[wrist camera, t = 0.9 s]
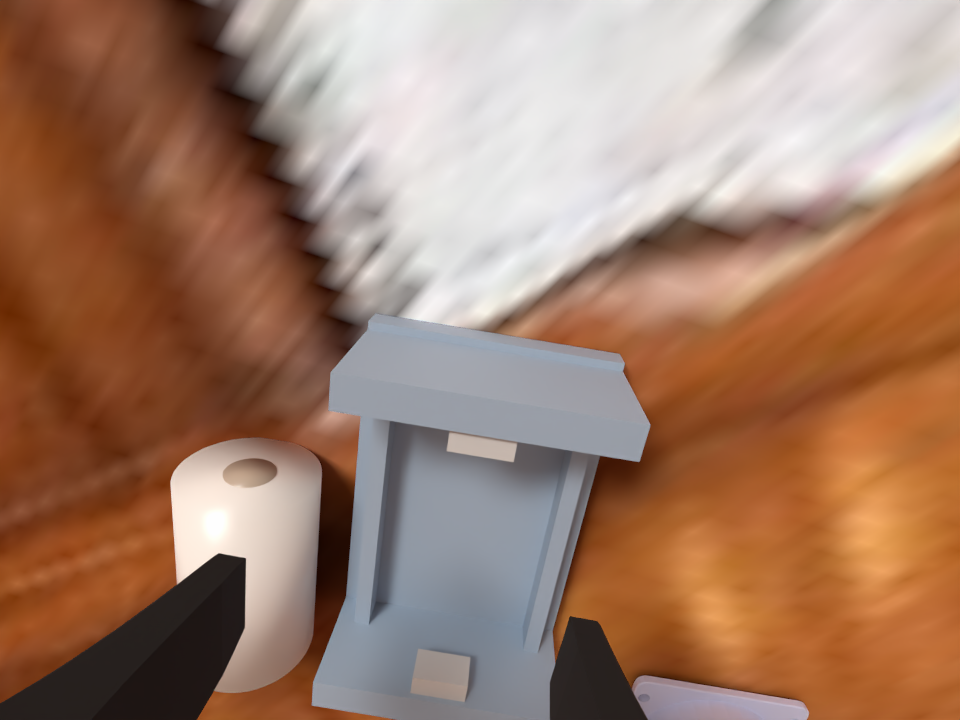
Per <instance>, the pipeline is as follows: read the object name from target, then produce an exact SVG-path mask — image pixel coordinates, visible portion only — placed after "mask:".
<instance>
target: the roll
mask: <svg viewBox="0 0 960 720" xmlns="http://www.w3.org/2000/svg"><path fill="white" fill-rule="evenodd" d="M321 482H322V467H321V464H320V462H319V460H318V458H317V457H316V456H315V455H314V454H313V453H312V452H311V451H309V450H308V449H306V448H304V447H302V446H300V445H298V444H295V443H291V442H285V441H279V440H273V439H267V438H243V439H235V440H230V441H225V442H221V443H218V444H214V445H211V446H209V447H206V448H204V449H202V450H200V451H198V452H196V453H194V454H192V455H191V456H189V457H188V458H186V459H185V460H184V461H183V462H182V463H181V464H180V465H179V466H178V467H177V468H176V470H175V471H174V473H173V475H172V478H171V498H172V513H173V528H174V543H175V558H176V573H177V584H178V583H180V582H181V581H182V580H184V579H185V578H186V577H187V576H189V575H190V574H191V573H193V572H194V571H195V570H197V569H198V568H199V567H200V566H202V565H203V564H204V563H206V562H207V561H208V560H210V559H211V558H212V557H214V556H215V555H217V554H218V553H221V554H226V555H232V556H237V557H243V558H246V594H245V629H244V631H243V633H242V635H241V638H240V640H239V642H238V644H237V646H236V649H235V651H234V653H233V655H232V657H231V659H230V661H229V663H228V666H227V668H226V670H225V672H224V674H223V676H222V678H221V679H220V681H219V683H218V685H217V686H216V688H215V690H214V691H217V692H224V693H239V692H247V691H251V690H255V689H258V688H261V687H264V686H267V685H269V684H271V683H273V682H275V681H277V680H278V679H280V678H282V677H283V676H285V675H286V674H287V673H289V672H290V671H291V670H292V669H293V668H294V667H295V666H296V665H297V664H298V663H299V662H300V661H301V660H302V658H303V657H304V655H305V654H306V652H307V650H308V648H309V646H310V644H311V641H312V637H313V629H314V611H315V593H316V574H317V556H318V537H319V519H320V500H321Z"/></svg>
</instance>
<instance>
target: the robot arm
mask: <svg viewBox="0 0 960 720" xmlns="http://www.w3.org/2000/svg"><path fill="white" fill-rule="evenodd" d="M245 594H246V558H243V557H237V556H232V555H226V554H221V553H218V554H217V555H215V556H214V557H212V558H211V559H210V560H208V561H207V562H206V563H204V564H203V565H202V566H200V567H199V568H198V569H197V570H195V571H194V572H193V573H191V574H190V575H189V576H187V577H186V578H185V579H184V580H182V581H181V582H180V583H178V584H177V585H176V586H174V587H173V588H172V589H170V590H169V591H168V592H167V593H165V594H164V595H163V596H161V597H160V598H159V599H157V600H156V601H155V602H153V603H152V604H150V605H149V606H148V607H146V608H145V609H144V610H142V611H141V612H140V613H138V614H137V615H135V616H134V617H133V618H131V619H130V620H129V621H127V622H126V623H124V624H123V625H122V626H120V627H119V628H117V629H116V630H115V631H113V632H112V633H110V634H109V635H107V636H106V637H104V638H103V639H101V640H100V641H98V642H97V643H96V644H94V645H93V646H91V647H90V648H88V649H87V650H85V651H84V652H82V653H81V654H79V655H78V656H76V657H75V658H73V659H72V660H70V661H69V662H67V663H66V664H64V665H63V666H61V667H59V668H58V669H56V670H55V671H53V672H52V673H50V674H48V675H47V676H45V677H44V678H42V679H40V680H39V681H37V682H36V683H34V684H32V685H31V686H29V687H27V688H26V689H24V690H22V691H20V692H19V693H17V694H15V695H14V696H12V697H10V698H9V699H7V700H5V701H4V702H2V703H0V720H197V718H198V717H199V715H200V713H201V712H202V710H203V708H204V706H205V705H206V703H207V701H208V700H209V698H210V696H211V695H212V693H213V691H214V690H215V688H216V686H217V685H218V683H219V681H220V679H221V678H222V676H223V674H224V672H225V670H226V668H227V666H228V663H229V661H230V659H231V657H232V655H233V653H234V651H235V649H236V646H237V644H238V642H239V640H240V638H241V635H242V633H243V631H244V629H245ZM808 716H809V712H808V709H807V708H806V706H805V704H804V703H803V702H801V701H798V700H792V699H786V698H780V697H774V696H768V695H762V694H756V693H750V692H744V691H738V690H732V689H726V688H720V687H714V686H708V685H701V684H695V683H689V682H683V681H677V680H671V679H665V678H659V677H653V676H647V675H643V676H640V677H638V678H637V679H636V680H635V681H634V684H633V687H632V689H631V687H630V685H629V683H628V681H627V679H626V677H625V675H624V673H623V671H622V669H621V667H620V665H619V663H618V661H617V659H616V657H615V655H614V653H613V651H612V649H611V647H610V645H609V643H608V641H607V638H606V636H605V634H604V632H603V630H602V628H601V626H600V624H599V623H598V621H593V620H587V619H582V618H576V617H571V616H570V618H569V621H568V625H567V628H566V631H565V634H564V638H563V641H562V644H561V647H560V651H559V654H558V657H557V660H556V664H555V667H554V670H553V673H552V677H551V680H550V720H807V718H808Z"/></svg>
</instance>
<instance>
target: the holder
mask: <svg viewBox="0 0 960 720" xmlns="http://www.w3.org/2000/svg"><path fill="white" fill-rule="evenodd" d="M624 366H625V363H624V361H623V359H622V357H621V356H620V354H617V353H611V352H605V351H599V350H593V349H587V348H581V347H575V346H569V345H563V344H556V343H550V342H544V341H538V340H532V339H526V338H520V337H514V336H508V335H502V334H496V333H490V332H484V331H478V330H472V329H466V328H460V327H454V326H447V325H441V324H435V323H429V322H423V321H417V320H411V319H405V318H399V317H393V316H387V315H381V314H375V315H374V316H373V317H372V318H371V319H370V320H369V321H368V330H367V331H366V332H365V333H364V334H363V336H362V337H361V338H360V339H359V340H358V341H357V343H356V344H355V345H354V346H353V347H352V348H351V349H350V351H349V352H348V353H347V354H346V355H345V356H344V358H343V359H342V360H341V361H340V362H339V363H338V364H337V366H336V367H335V368H334V369H333V370H332V371H331V376H330V394H329V411H334V412H340V413H346V414H352V415H358V416H361V419H360V432H359V444H358V456H357V469H356V481H355V493H354V506H353V518H352V530H351V543H350V555H349V567H348V580H347V592H346V598H345V601H344V604H343V606H342V609H341V611H340V614H339V617H338V619H337V622H336V624H335V627H334V630H333V632H332V635H331V637H330V640H329V643H328V645H327V648H326V650H325V653H324V656H323V658H322V661H321V663H320V666H319V669H318V671H317V674H316V676H315V679H314V682H313V695H312V705H313V706H319V707H325V708H331V709H337V710H343V711H349V712H355V713H361V714H367V715H373V716H379V717H385V718H391V719H397V720H550V680H551V677H552V673H553V670H554V667H555V655H554V642H553V628H554V624H555V620H556V617H557V613H558V609H559V606H560V602H561V598H562V594H563V591H564V587H565V583H566V580H567V576H568V572H569V569H570V565H571V561H572V558H573V554H574V550H575V546H576V543H577V539H578V535H579V532H580V528H581V524H582V521H583V517H584V513H585V510H586V506H587V502H588V498H589V495H590V491H591V487H592V484H593V480H594V476H595V473H596V469H597V465H598V462H599V458H600V456H606V457H612V458H618V459H624V460H630V461H636V462H640V458H641V455H642V452H643V449H644V445H645V442H646V439H647V435H648V432H649V429H650V423H649V421H648V419H647V417H646V415H645V413H644V412H643V410H642V408H641V406H640V404H639V402H638V400H637V398H636V396H635V394H634V392H633V390H632V388H631V386H630V385H629V383H628V381H627V379H626V377H625V375H624V373H623V369H624Z"/></svg>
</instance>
